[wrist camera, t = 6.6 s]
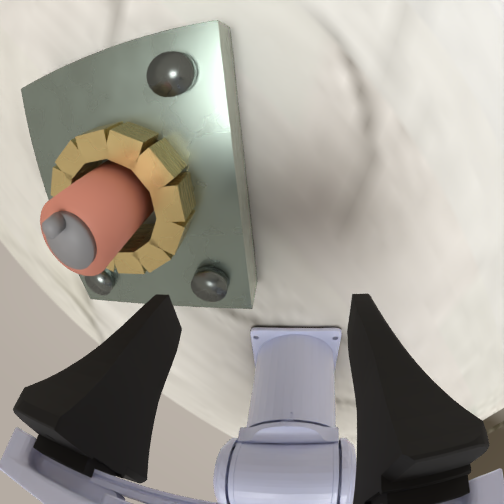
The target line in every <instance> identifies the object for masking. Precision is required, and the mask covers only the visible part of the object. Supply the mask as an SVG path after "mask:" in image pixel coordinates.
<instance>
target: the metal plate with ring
mask: <svg viewBox="0 0 504 504" xmlns="http://www.w3.org/2000/svg"><path fill="white" fill-rule="evenodd" d="M21 91H22V97H23V103H24V108H25V114H26V118H27V123H28V128H29V132H30V136H31V141H32V145H33V149H34V152H35V156H36V160H37V163H38V167H39V170H40V174H41V177H42V180H43V183H44V187H45V190H46V193H47V196H48V199H49V200H50V199H52V198H53V197H54V196H56V195H57V194H58V193H60V192H61V191H62V190H64V189H65V188H67V187H68V186H70V185H71V184H72V183H74V182H75V181H77V180H78V179H80V178H81V177H83V176H84V175H86V174H87V173H89V172H90V171H92V170H93V169H95V168H96V167H98V166H99V165H101V164H103V163H104V162H106V161H107V160H111V161H113V162H115V163H118V164H120V165H122V166H125V167H127V168H129V169H131V170H132V171H133V172H134V174H135V175H136V176H137V177H138V178H139V180H140V181H141V182H142V183H143V184H144V186H145V187H146V188H147V189H148V190H149V192H150V195H151V199H152V203H153V207H154V211H153V212H152V214H151V215H150V216H149V217H148V218H147V219H146V220H145V221H144V223H143V224H142V225H141V226H140V227H139V228H138V230H137V231H136V232H135V233H134V234H133V235H132V237H131V238H130V239H129V240H128V241H127V243H126V244H125V245H124V246H123V247H122V249H121V250H120V251H119V252H118V253H117V255H116V256H115V257H114V258H113V260H112V261H111V262H110V263H109V265H108V266H107V267H106V268H105V270H104V271H103V272H101V273H100V274H98V275H95V276H85V275H80V274H79V276H80V278H81V280H82V282H83V284H84V286H85V288H86V291H87V293H88V295H89V297H90V299H97V300H107V301H118V302H131V303H144V304H146V303H147V302H148V301H149V300H150V299H151V298H152V297H153V296H155V295H156V294H163V295H169V296H170V299H171V302H172V304H173V305H174V306H192V307H214V308H243V309H252V307H253V302H254V296H255V291H256V285H257V275H256V265H255V256H254V246H253V237H252V228H251V218H250V209H249V200H248V190H247V181H246V172H245V162H244V153H243V144H242V134H241V125H240V116H239V107H238V97H237V88H236V79H235V70H234V61H233V52H232V43H231V33H230V27H228V26H226V25H225V24H223V23H222V22H220V21H218V20H215V21H209V22H203V23H198V24H193V25H188V26H183V27H179V28H175V29H170V30H166V31H162V32H159V33H155V34H151V35H148V36H144V37H141V38H138V39H134V40H131V41H128V42H125V43H122V44H119V45H116V46H113V47H110V48H108V49H105V50H102V51H100V52H97V53H94V54H92V55H89V56H87V57H85V58H82V59H80V60H78V61H75V62H73V63H71V64H68V65H66V66H64V67H62V68H60V69H58V70H56V71H54V72H52V73H50V74H48V75H46V76H44V77H42V78H40V79H38V80H36V81H34V82H32V83H30V84H29V85H27V86H25V87H23V88H22V89H21Z"/></svg>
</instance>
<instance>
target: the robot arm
mask: <svg viewBox="0 0 504 504" xmlns="http://www.w3.org/2000/svg"><path fill="white" fill-rule="evenodd" d="M181 331H182V328H181V325H180V323H179V320H178V318H177V315H176V312H175V310H174V307H173V304H172V302H171V299H170V296H169V295H163V294H156V295H155V296H153V297H152V298H151V299H150V300H149V301H148V302H147V303H146V304H145V305H144V306H143V307H142V308H140V309H139V310H138V311H137V312H136V313H135V314H134V315H133V316H132V317H131V318H130V319H129V320H128V321H127V322H126V323H125V324H124V325H123V326H122V327H120V328H119V329H118V330H117V331H116V332H115V333H114V334H112V335H111V336H110V337H109V338H108V339H107V340H106V341H104V342H103V343H102V344H101V345H100V346H98V347H97V348H96V349H94V350H93V351H92V352H90V353H89V354H88V355H86V356H85V357H83V358H82V359H80V360H79V361H77V362H76V363H74V364H72V365H71V366H69V367H68V368H66V369H64V370H63V371H61V372H59V373H57V374H55V375H53V376H51V377H49V378H47V379H45V380H43V381H40V382H38V383H35V384H33V385H30V386H28V387H25V388H24V389H23V391H22V393H21V395H20V397H19V399H18V400H17V402H16V404H15V406H14V408H13V411H14V413H15V414H16V415H17V416H18V417H19V418H20V419H21V420H22V421H23V422H25V423H26V424H27V425H28V426H29V427H30V428H32V429H33V430H34V431H35V432H37V433H38V434H39V435H38V437H37V439H36V438H35V437H33V436H32V435H30V434H28V433H26V432H25V431H23V430H21V429H20V428H18V427H16V428H15V430H14V432H13V435H12V436H11V439H10V441H9V443H8V445H7V447H6V450H5V452H4V454H3V456H2V458H1V461H0V470H1V471H3V472H4V473H5V474H6V475H8V476H9V477H10V478H12V479H13V480H14V481H15V482H17V483H18V484H19V485H20V486H22V487H23V488H24V489H25V490H27V491H28V492H29V493H30V494H32V495H33V496H34V497H36V498H37V499H38V500H39V501H41V502H42V503H44V504H132V503H130V502H127V501H125V498H124V497H123V496H125V497H128V498H131V499H134V500H137V501H140V502H143V503H146V504H352V503H353V504H504V479H503V473H502V469H497V470H495V471H492V472H490V473H487V474H484V475H482V476H479V477H476V478H474V479H472V480H469V481H468V474H469V473H471V466H470V463H471V462H473V461H474V460H476V459H477V458H478V457H480V456H481V455H482V454H484V453H485V452H486V451H487V449H488V447H489V442H488V436H487V432H486V429H485V426H484V423H483V421H482V420H480V419H479V418H477V417H476V416H475V415H473V414H472V413H470V412H469V411H467V410H466V409H465V408H463V407H462V406H461V405H459V404H458V403H457V402H456V401H454V400H453V399H452V398H451V397H450V396H449V395H448V394H447V393H445V392H444V391H443V390H442V389H441V388H440V387H439V386H438V385H437V384H436V383H435V382H434V381H433V380H432V379H431V378H430V377H429V376H428V375H427V374H426V373H425V372H424V371H423V370H422V368H421V367H420V366H419V365H418V364H417V363H416V362H415V360H414V359H413V358H412V357H411V356H410V354H409V353H408V352H407V350H406V349H405V348H404V347H403V345H402V344H401V343H400V341H399V340H398V338H397V337H396V336H395V334H394V333H393V331H392V330H391V328H390V327H389V325H388V324H387V322H386V321H385V319H384V318H383V316H382V315H381V313H380V311H379V310H378V308H377V306H376V305H375V303H374V301H373V300H372V298H371V296H370V295H369V294H352V301H351V309H350V316H349V323H348V330H347V334H348V351H349V360H350V366H351V372H352V378H353V385H354V391H355V398H356V407H357V462H356V455H355V448H354V445H353V444H352V443H351V442H350V441H349V440H348V439H347V438H340V439H339V435H338V427H336V413H335V382H334V371H335V366H336V361H337V356H338V351H339V345H340V340H341V329H339V328H263V327H254V328H252V329H251V332H250V335H251V342H252V348H253V355H254V362H255V368H256V370H255V376H254V383H253V389H252V396H251V402H250V409H249V415H248V421H247V427H246V428H240V431H239V437H238V438H232V439H230V440H229V441H228V442H227V443H226V444H225V445H224V446H223V447H222V448H221V450H220V452H219V454H218V457H217V460H216V464H215V470H214V492H215V496H216V498H217V502H218V503H215V502H209V501H204V500H198V499H193V498H189V497H184V496H179V495H175V494H171V493H167V492H163V491H159V490H155V489H152V488H148V487H145V486H142V485H139V484H135V483H132V482H129V481H126V480H123V479H120V478H125V479H128V480H131V481H134V482H137V483H143V482H145V481H146V480H147V471H148V458H149V449H150V442H151V435H152V430H153V424H154V419H155V415H156V410H157V406H158V402H159V399H160V395H161V392H162V390H163V387H164V384H165V381H166V379H167V376H168V373H169V371H170V368H171V366H172V363H173V360H174V357H175V355H176V352H177V348H178V344H179V340H180V335H181ZM335 336H336V337H335ZM338 442H339V443H338ZM115 476H117V477H120V478H117V477H115Z"/></svg>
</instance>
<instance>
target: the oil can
mask: <svg viewBox="0 0 504 504" xmlns="http://www.w3.org/2000/svg"><path fill="white" fill-rule="evenodd" d="M153 211H154V207H153V203H152V199H151V195H150V192H149V190H148V189H147V188H146V187H145V186H144V184H143V183H142V182H141V181H140V180H139V178H138V177H137V176H136V175H135V174H134V172H133V171H132V170H131V169H129V168H127V167H125V166H122V165H120V164H118V163H115V162H113V161H111V160H107V161H106V162H104V163H103V164H101V165H99V166H98V167H96V168H95V169H93V170H92V171H90V172H89V173H87V174H86V175H84V176H83V177H81V178H80V179H78V180H77V181H75V182H74V183H72V184H71V185H70V186H68V187H67V188H65V189H64V190H62V191H61V192H60V193H58V194H57V195H56V196H54V197H53V198H52V199H50V200H49V201H48V202H47V203H46V204H45V205H44V207H43V209H42V211H41V217H40V224H41V230H42V234H43V237H44V240H45V242H46V244H47V246H48V247H49V249H50V251H51V252H52V253H53V255H54V256H55V257H56V258H57V259H58V260H59V261H60V262H61V263H62V264H63V265H64V266H65V267H67V268H68V269H70V270H71V271H73V272H75V273H78V274H80V275H85V276H95V275H98V274H100V273H101V272H103V271H104V270H105V268H106V267H107V266H108V265H109V263H110V262H111V261H112V260H113V258H114V257H115V256H116V255H117V253H118V252H119V251H120V250H121V249H122V247H123V246H124V245H125V244H126V243H127V241H128V240H129V239H130V238H131V237H132V235H133V234H134V233H135V232H136V231H137V230H138V228H139V227H140V226H141V225H142V224H143V223H144V221H145V220H146V219H147V218H148V217H149V216H150V215H151V214H152V212H153Z"/></svg>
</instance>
